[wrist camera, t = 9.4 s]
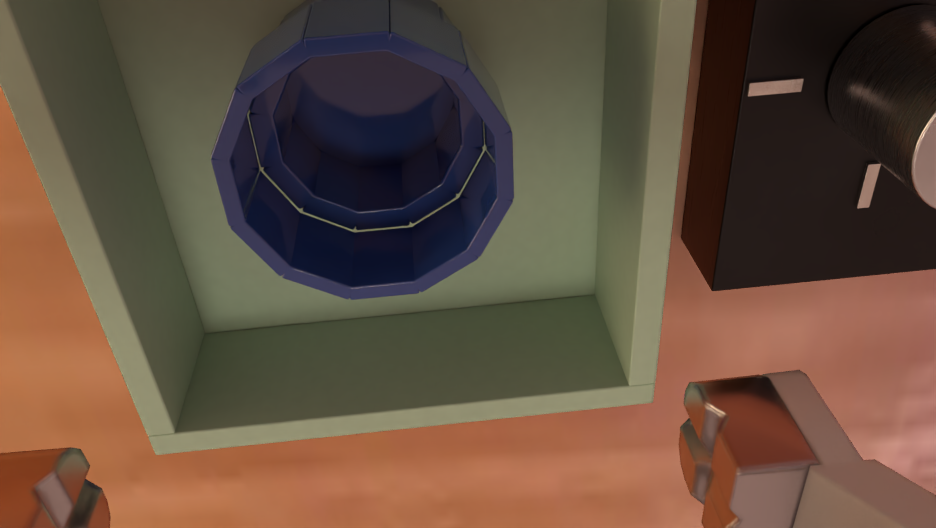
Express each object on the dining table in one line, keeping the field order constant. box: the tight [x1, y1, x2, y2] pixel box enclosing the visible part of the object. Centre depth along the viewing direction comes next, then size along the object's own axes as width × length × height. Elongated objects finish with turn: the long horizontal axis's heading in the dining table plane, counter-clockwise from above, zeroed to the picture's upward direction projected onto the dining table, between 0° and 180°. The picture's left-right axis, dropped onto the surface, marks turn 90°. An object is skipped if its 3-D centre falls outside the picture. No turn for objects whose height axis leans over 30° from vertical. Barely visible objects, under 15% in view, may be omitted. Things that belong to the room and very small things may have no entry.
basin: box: [0, 0, 697, 455], centre depth 20 cm, size 18×15×5 cm
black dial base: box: [681, 0, 936, 291], centre depth 21 cm, size 13×8×3 cm, turn 3°
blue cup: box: [211, 0, 514, 300], centre depth 19 cm, size 6×6×6 cm
